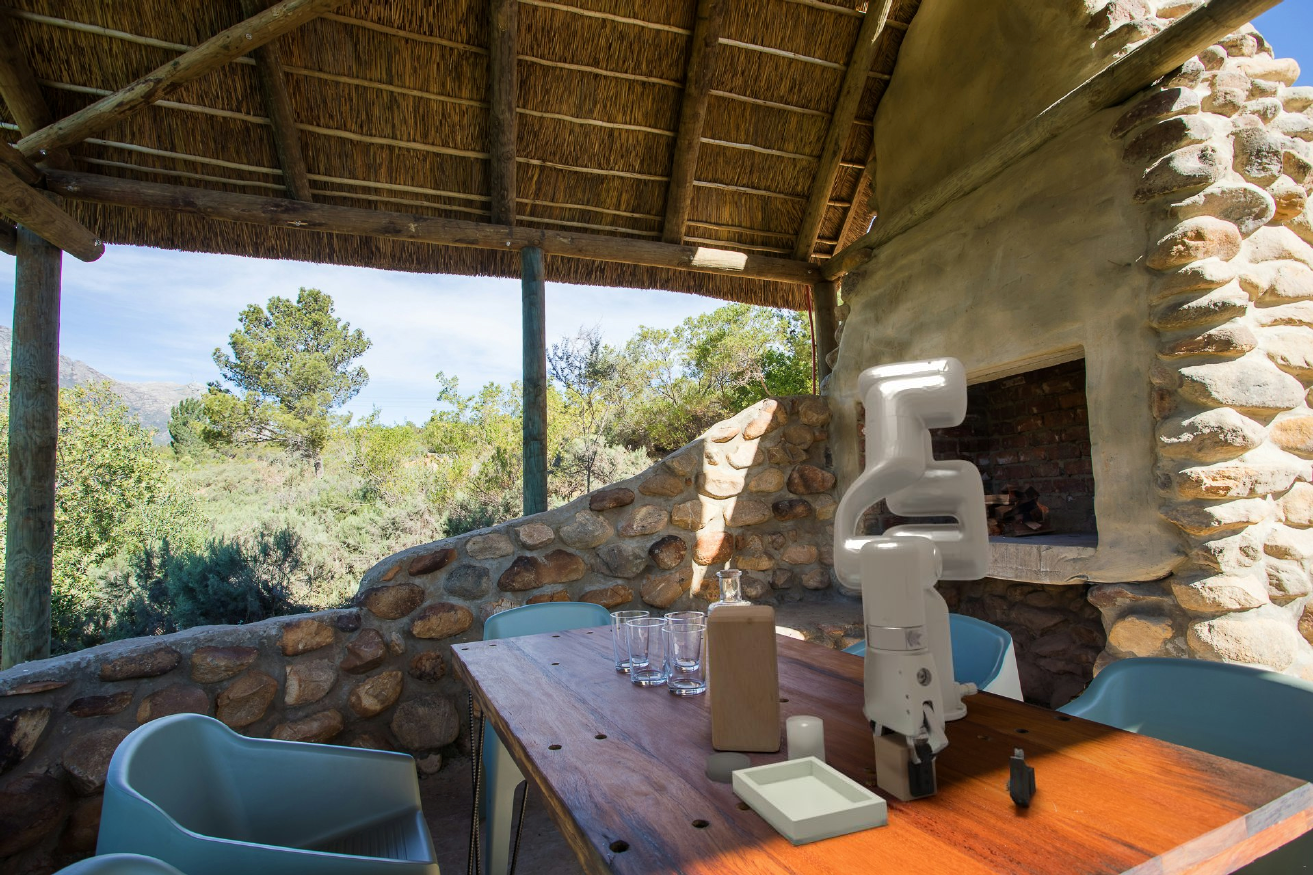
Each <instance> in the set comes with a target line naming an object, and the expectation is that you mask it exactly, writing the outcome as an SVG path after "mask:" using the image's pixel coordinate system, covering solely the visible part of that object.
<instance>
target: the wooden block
mask: <svg viewBox="0 0 1313 875" xmlns="http://www.w3.org/2000/svg"><path fill="white" fill-rule="evenodd" d="M775 611H776V610H775V609H774V607H773V606H770V605H761V604H760V605H718V606H715V607H714V608H713V609H712V611H711V612H710V613H709V615H708V617H707V620H706V629H707V630H706V631H707V650H708V654H707V656H708V673H709V674H708V676H709V696H710V698H709V700H710V714H711V716H710V717H711V739H712V740H711V741H712V745H713V747H714V749H715V750H718V751H727V752H728V751H729V752H730V751H732V752H759V753H760V752H761V753H763V752H764V753H765V752H766V753H775V752H778V751H779V749H780V746H781V736H782V734H781V733H782V720H781V717H782V716H781V700H780V697H781V696H780V684H779V683H780V682H779V680H780V679H779V666H778V663H779V662H778V651H777V650H778V647H777V631H776V630H777V629H776V613H775Z"/></svg>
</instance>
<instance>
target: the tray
mask: <svg viewBox="0 0 1313 875" xmlns="http://www.w3.org/2000/svg"><path fill="white" fill-rule="evenodd" d="M732 776H733V783H732V790H733V791H732V792H733V793H734V794H735V795H736V796H738V798H740V799H741V801H743V802H744V803H745V804H746V805H748V806H749V808H750V809H752V810H753V811H754V812H755V813H757V814H758V815H759V816H760V817H761V818H762V819H764V821H766V822H767V823H768V824H769V825H770V826H771V827H773V829H775V830H776V831H777V832H778V833H779V834H781V836H783V838H785V839H786V840H787V841H788V842H789V843H790V844H792V845H793V846H794V847H797V846H800V845H805V844H809V843H814V842H818V841H822V840H827V839H830V838H835V837H839V836H843V835H847V834H852V833H856V832H861V831H864V830H865V831H866V830H869V829H873V828H878V827H882V826H887V825H888V824H889V821H888V820H889V819H888V807H887V800H886V799H884V798H883V797H881V796H879V795H877V794H876V793H874V792H872V791H871V790H870V789H868V788H866V787H864V786H863V785H861V784H859V783H858V782H856V781H855V780H853V779H852V778H849V777H848V776H846V775H845V774H843V773H841V772H840V771H838V770H836V769H835V768H833V767H832V766H830V765H828V764H827V763H826V762H825V763H824V762H822V761H820V760H819V759H817V758H815V757H814V756H812V757H807V758H801V759H796V760H791V761H788V760H786V761H785V760H784V761H781V762H776V763H775V762H774V763H771V764H765V765H764V764H763V765H758V766H754V767H751V768H748V769H742V770H737V771H732Z"/></svg>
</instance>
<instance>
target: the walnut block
mask: <svg viewBox="0 0 1313 875" xmlns="http://www.w3.org/2000/svg"><path fill="white" fill-rule="evenodd" d="M916 741H917V745H918V749H919V748H920V747H921V746H922V745H923V743H922V739H920V740H916ZM873 742H874V755H875V769H876V782H877V787H878V788H880V789H882V790H884V791H886V792H887V793H889V794H890V795H892V796H893V797H896V798H898V799H899V800H900V801H903V802H907V801H913V800H918V799H921V798H926V797H931V796H934V795H938V787H937V773H936V760H935V761H932V765H933V778H934V793H933V794H929V795H924V796H920V797H913V796H912V795H911V794H910V783H909V770H908V762H910V761H912V760H911V756H910V752H909V748H908V744H907V740H906V736H905V735H903V734H900V733H894V734H889V735H883V736H878V737H874V736H873Z"/></svg>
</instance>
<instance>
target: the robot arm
mask: <svg viewBox="0 0 1313 875" xmlns="http://www.w3.org/2000/svg"><path fill="white" fill-rule="evenodd" d="M967 387H968V386H967V373H966V371H965V368H964V366H963V363H961V361H960V360H959V359H958V358H956V357H951V356H945V357H944V356H943V357H936V358H926V359H919V360H918V359H916V360H909V361H898V362H892V363H885V364H879V365H875V366H872V367H869V368H867V369H865V370H863V371H862V372H861V373H860V374H859V376H858V378H857V391H858V395H859V398H860V401H861V403H862V407H863V408H864V409H865V412H864V413H865V414H864V415H865V416H864V417H865V422H864V423H865V431H864V432H865V468H864V471H863V472H862V473H861V474H860V475H859V476H858V478H857V479H855V481H854V482H852V484H851V485H850V486H849V487H848V489H847V490H846V492H845V493H844V495H843V496H842V498H841V500H840V502H839V504H838V507H837V510H836V513H835V518H834V524H833V525H834V528H833V532H834V533H833V565H834V566H833V568H834V572H835V575H836V578H837V580H838V581H839V583H841V585H843V586H844V587H846V588H849V589H852V590H853V589H854V590H861V595H862V597H861V598H862V609H863V612H862V613H863V625H864V628H863V629H864V638H865V639H864V640H865V643H864V644H865V647H864V648H865V650H864V660H863V662H864V663H863V690H864V691H863V692H864V693H863V694H864V702H865V703H864V705H863V706H862V713H863V714H864V716H865V718H866V719H867V721H868V722H869V727H870V728H871V730H872V733H873V732H874V734H875V735H874V736H873V738H874V737H878V736H883V735H889V734H894V733H900V734H903V735H905V736H906V740H907V744H908V748H909V752H910V756H911V760H912V761H910V762H908V770H909V783H910V794H911V795H912V796H913V797H920V796H924V795H929V794H933V793H934V778H933V765H932V761H935V762H936V759H937V756H938V754H939V753H940V752H941V751H942V750H943V749H944V748H946V747H947V746H948V745H949V740H948V738H947V735H946V734H945V729H946V723H945V722H949V721H950V722H951V721H955V720H960V719H962V718H963V717H965V716H966V715H967V714H968V711H967V709H968V708H967V705H966V704H965V703H964V702H963V701H962V700H961V699H962V698H964V696H972V695H976V694H978V686H977V685H976V684H975V682H966V683H963V684H961V683H960V682H958V681H955V675H954V673H955V672H954V662H953V661H954V660H953V652H952V650H953V649H952V638H951V627H950V626H951V625H950V614H949V607H948V605H947V603H946V600H945V599H944V597H943V596H942V595H941V594H940V593H939V591H938V590H937V589H936V588H935V587H934V586H935V585H936V584H937V582H938V581H974V580H980V579H983V578H985V577H986V576H987V575H988V573H989V571H990V568H991V567H990V566H991V551H990V542H989V541H990V540H989V531H988V521H987V511H986V510H987V508H986V502H985V501H986V500H985V499H986V498H985V492H984V484H983V480H982V477H981V472H979V469H978V467H977V466H976V465H975V464H974V463H972V462H971V461H969V460H968V461H967V460H962V459H951V460H935V459H934V456H933V455H934V454H933V446H932V436H931V433H930V432H931V431H930V430H929V429H938V428H939V429H941V428H951V427H957V426H960V425H961V424H962V423H963V421H964V420H965V418H966V413H967V407H968V393H967V391H968V390H967V389H968V388H967ZM883 499H885V503H886V506H887V508H888V511H889V512H891V513H892V514H895V515H896V516H901V517H943V516H944V517H945V516H946V517H947V516H948V517H949V516H950V517H954V518H955V519H956V520H957V521H958V523H936V524H934V523H917V524H916V523H914V524H913V523H912V524H899V525H896V526H892V527H890V528H888V529H887V530H885V531H884V532H883V533H882V535H856V528H857V524H858V521H859V520H860V518H861V517H862V515H863V514H864V512H866V511H867V510H868V509H869V508H870V507H871V506H873V505H874V504H876V503H877V502H880V501H881V500H883ZM919 728H920V731H921V733H919ZM920 739H922V743H923V745H922V746H921V747H920V748H919V749H918V745H917V741H916V740H920Z"/></svg>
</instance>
